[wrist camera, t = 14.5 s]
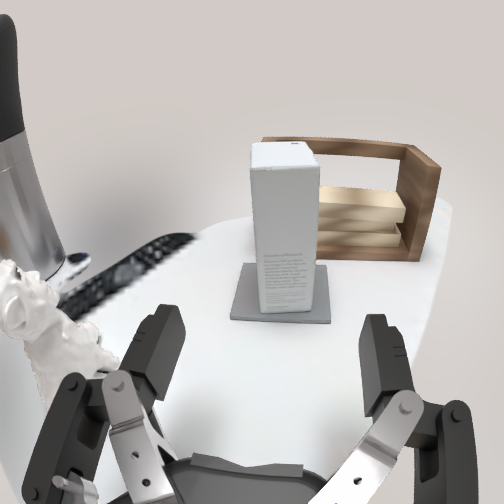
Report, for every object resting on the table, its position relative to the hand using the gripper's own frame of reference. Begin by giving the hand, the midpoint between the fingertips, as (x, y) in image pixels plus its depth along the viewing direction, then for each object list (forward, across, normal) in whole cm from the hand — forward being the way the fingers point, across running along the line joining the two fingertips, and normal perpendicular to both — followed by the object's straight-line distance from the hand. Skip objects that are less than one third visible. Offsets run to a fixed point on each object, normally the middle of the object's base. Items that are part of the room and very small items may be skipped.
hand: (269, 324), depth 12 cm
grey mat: (+11, 0, +8) cm, 14 cm away
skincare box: (+11, 0, +8) cm, 13 cm away
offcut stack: (+19, -6, +7) cm, 21 cm away
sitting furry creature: (-1, +13, +8) cm, 15 cm away
